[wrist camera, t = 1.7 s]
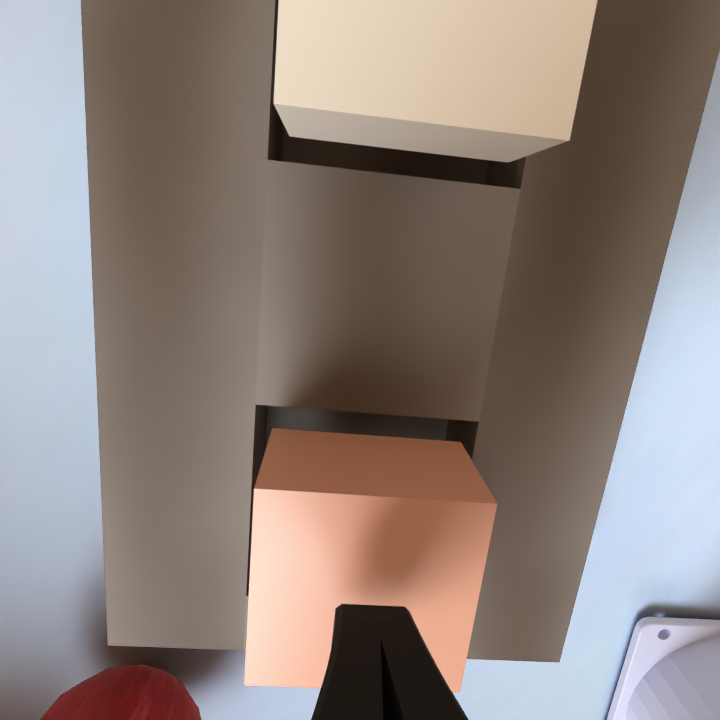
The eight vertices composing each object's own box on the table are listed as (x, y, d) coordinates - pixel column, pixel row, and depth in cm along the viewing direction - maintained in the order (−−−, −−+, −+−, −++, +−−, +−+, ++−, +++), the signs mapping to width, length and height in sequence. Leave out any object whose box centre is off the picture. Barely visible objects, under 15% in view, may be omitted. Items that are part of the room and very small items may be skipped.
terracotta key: (461, 442, 13) (497, 504, 10) (434, 597, 14) (459, 692, 11) (272, 428, 13) (254, 488, 10) (262, 589, 14) (243, 685, 11)
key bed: (670, -96, 13) (785, -205, 10) (519, 584, 19) (559, 662, 16) (141, -183, 12) (66, -341, 9) (150, 565, 18) (107, 645, 14)
